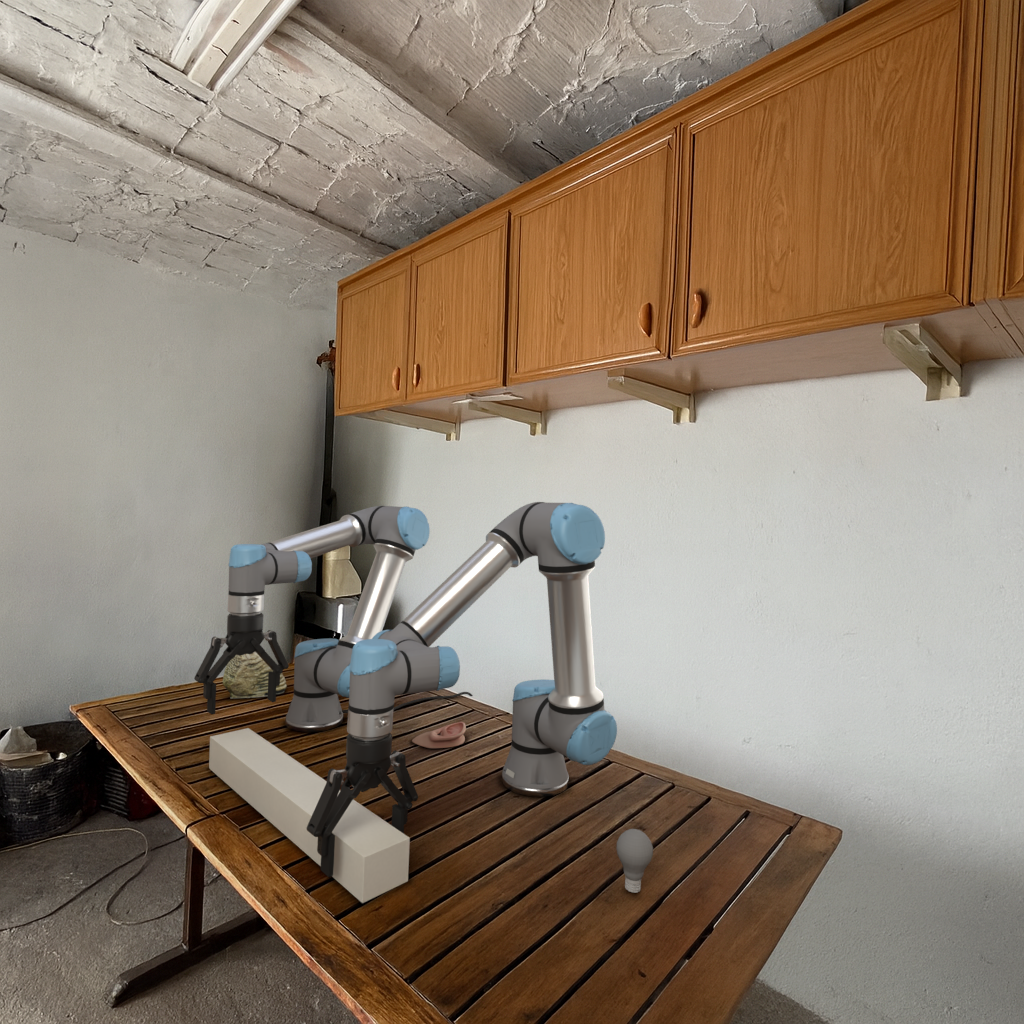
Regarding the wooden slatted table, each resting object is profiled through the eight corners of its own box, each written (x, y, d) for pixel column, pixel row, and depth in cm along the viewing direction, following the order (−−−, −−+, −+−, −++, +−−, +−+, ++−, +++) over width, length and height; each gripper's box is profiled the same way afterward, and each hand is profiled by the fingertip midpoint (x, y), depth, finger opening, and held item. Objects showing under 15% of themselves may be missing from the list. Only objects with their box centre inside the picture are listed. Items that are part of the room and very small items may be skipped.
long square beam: (208, 768, 145) (209, 736, 145) (247, 758, 151) (248, 727, 151) (362, 903, 100) (364, 857, 99) (408, 881, 106) (410, 837, 106)
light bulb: (610, 879, 108) (613, 822, 108) (644, 879, 109) (647, 822, 109) (619, 902, 102) (622, 840, 102) (655, 901, 103) (658, 840, 103)
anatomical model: (408, 730, 163) (423, 715, 174) (407, 745, 163) (422, 730, 174) (457, 736, 160) (469, 721, 171) (457, 752, 160) (469, 735, 171)
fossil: (218, 695, 195) (220, 647, 195) (278, 685, 208) (279, 640, 207) (228, 703, 189) (230, 653, 188) (289, 692, 201) (290, 645, 201)
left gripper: (193, 621, 131) (189, 723, 132) (305, 610, 149) (302, 699, 149) (180, 615, 137) (177, 713, 137) (290, 605, 154) (287, 692, 155)
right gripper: (312, 758, 95) (305, 897, 96) (441, 723, 113) (435, 841, 113) (289, 743, 101) (282, 875, 101) (416, 712, 118) (410, 825, 119)
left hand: (242, 706), depth 143 cm, fingers open, 13 cm apart
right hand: (363, 857), depth 107 cm, fingers open, 13 cm apart
